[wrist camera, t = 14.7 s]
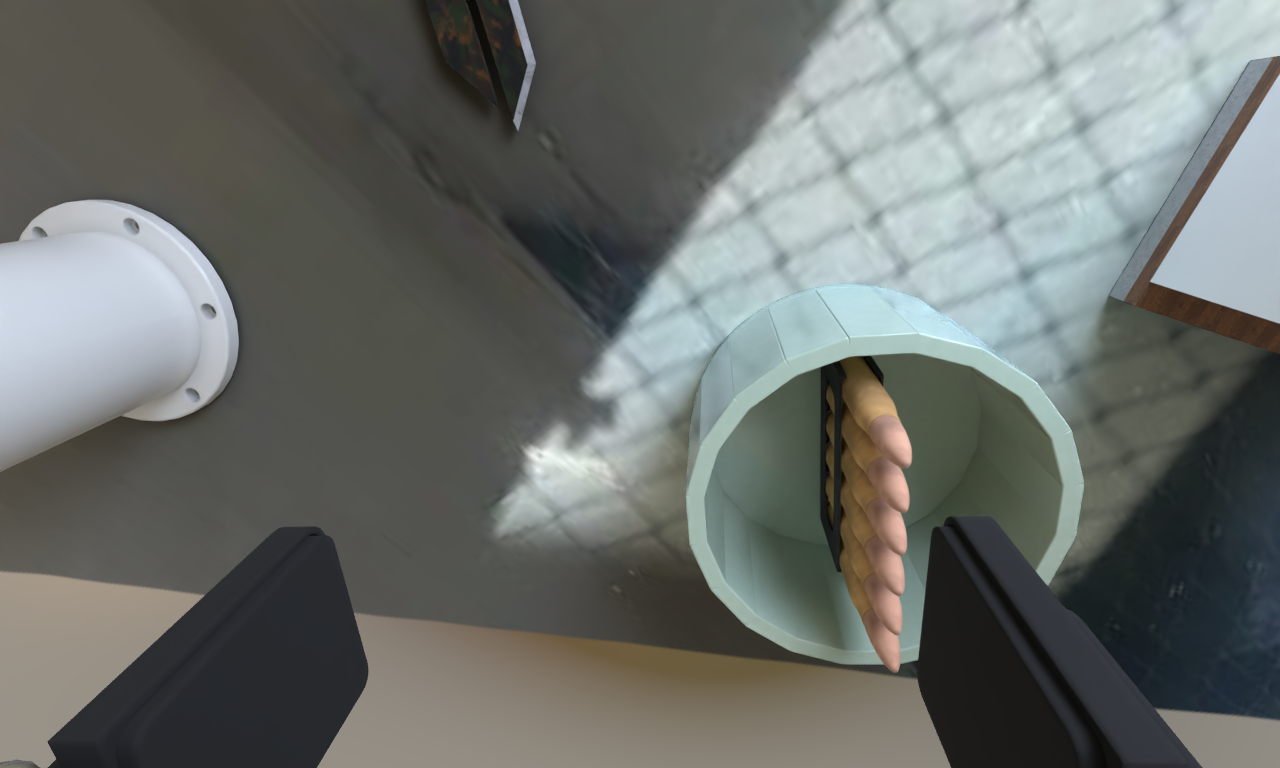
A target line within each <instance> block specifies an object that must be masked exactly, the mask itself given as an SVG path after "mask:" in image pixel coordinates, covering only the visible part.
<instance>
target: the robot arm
mask: <svg viewBox="0 0 1280 768" xmlns="http://www.w3.org/2000/svg"><path fill="white" fill-rule="evenodd" d="M238 347H239V338H238V327H237V320H236V317H235V313H234V309H233V306H232V302H231V300H230V298H229V295H228V293H227V291H226V289H225V287H224V285H223V282H222V280H221V279H220V277H219V276H218V274H217V273H216V271H215V270H214V268H213V267H212V265H211V264H210V262H209V260H208V259H207V258H206V257H205V256H204V255H203V254H202V253H201V251H200V250H199V249H198V248H197V247H196V246H195V245H194V244H193V242H192V241H190V240H189V239H188V238H187V237H186V236H184V235H183V234H182V233H181V232H180V231H178V230H177V229H176V228H175V227H174V226H172V225H171V224H169V223H167V222H166V221H164V220H163V219H161V218H159V217H158V216H156V215H154V214H153V213H150V212H148V211H146V210H143V209H141V208H138V207H136V206H133V205H131V204H126V203H121V202H117V201H112V200H83V201H75V202H67V203H63V204H60V205H58V206H55V207H52V208H49V209H47V210H46V211H44V212H43V213H41V214H40V215H39V216H37V217H36V218H34V219H33V220H32V221H31V223H30V224H29V225H28V226H27V228H26V229H25V230H24V231H23V233H22V234H21V236H20V239H19V241H16V242H9V243H2V244H0V472H1V471H3V470H6V469H8V468H10V467H12V466H14V465H16V464H18V463H21V462H23V461H25V460H27V459H29V458H31V457H33V456H35V455H38V454H40V453H42V452H44V451H46V450H48V449H50V448H53V447H55V446H57V445H59V444H61V443H63V442H65V441H68V440H70V439H72V438H74V437H76V436H78V435H80V434H82V433H85V432H87V431H89V430H91V429H93V428H95V427H97V426H100V425H102V424H104V423H106V422H108V421H110V420H112V419H115V418H117V417H119V416H124V417H128V418H133V419H137V420H142V421H166V420H172V419H178V418H181V417H183V416H186V415H188V414H191V413H193V412H195V411H197V410H199V409H200V408H202V407H204V406H206V405H208V404H209V403H211V402H212V401H213V400H214V399H215V398H216V397H217V396H218V395H219V394H221V393H222V392H223V390H224V388H225V387H226V385H227V384H228V382H229V381H230V379H231V377H232V374H233V371H234V369H235V366H236V363H237V356H238ZM917 675H918V683H919V688H920V692H921V695H922V697H923V700H924V702H925V705H926V707H927V710H928V712H929V714H930V717H931V719H932V722H933V724H934V727H935V729H936V732H937V734H938V736H939V739H940V741H941V744H942V746H943V748H944V751H945V753H946V756H947V758H948V761H949V763H950V766H951V768H1202V767H1201V766H1200V765H1199V763H1198V762H1197V761H1196V759H1195V758H1194V757H1193V756H1192V754H1191V753H1190V752H1189V751H1188V750H1187V748H1186V747H1185V746H1184V745H1183V744H1182V742H1181V741H1180V740H1179V738H1178V737H1177V736H1176V735H1175V734H1174V732H1173V731H1172V730H1171V729H1170V727H1169V726H1168V725H1167V724H1166V722H1165V721H1164V720H1163V719H1162V718H1161V717H1160V715H1159V714H1158V713H1157V711H1156V710H1155V709H1154V708H1153V706H1152V705H1151V704H1150V703H1149V701H1148V700H1147V699H1146V698H1145V697H1144V695H1143V694H1142V693H1141V692H1140V690H1139V689H1138V688H1137V687H1136V685H1135V684H1134V683H1133V682H1132V681H1131V679H1130V678H1129V677H1128V676H1127V674H1126V673H1125V672H1124V671H1123V669H1122V668H1121V667H1120V666H1119V665H1118V663H1117V662H1116V661H1115V660H1114V658H1113V657H1112V656H1111V655H1110V653H1109V652H1108V651H1107V650H1106V649H1105V647H1104V646H1103V645H1102V644H1101V642H1100V641H1099V640H1098V639H1097V637H1096V636H1095V635H1094V634H1093V633H1092V631H1091V630H1090V629H1089V628H1088V626H1087V625H1086V624H1085V623H1084V621H1083V620H1082V619H1081V618H1080V617H1079V616H1077V615H1076V614H1075V613H1074V612H1072V611H1070V610H1068V609H1065V607H1064V606H1063V605H1062V604H1061V602H1060V601H1059V600H1058V599H1057V597H1056V596H1055V595H1054V594H1053V592H1052V591H1051V590H1050V589H1049V587H1048V586H1047V585H1046V584H1045V582H1044V581H1043V580H1042V579H1041V577H1040V576H1039V575H1038V573H1037V572H1036V571H1035V570H1034V568H1033V567H1032V566H1031V565H1030V563H1029V562H1028V561H1027V560H1026V558H1025V557H1024V556H1023V555H1022V553H1021V552H1020V551H1019V550H1018V548H1017V547H1016V546H1015V545H1014V543H1013V542H1012V541H1011V540H1010V538H1009V537H1008V536H1007V535H1006V533H1005V532H1004V531H1003V530H1002V528H1001V527H1000V526H999V524H998V523H997V522H996V521H995V520H994V519H993V518H992V517H990V516H949V517H948V518H946V520H945V522H944V526H940V527H934V528H933V530H932V534H931V542H930V551H929V561H928V570H927V580H926V589H925V599H924V608H923V618H922V628H921V637H920V647H919V656H918V666H917ZM367 678H368V663H367V659H366V656H365V653H364V649H363V645H362V642H361V638H360V634H359V631H358V627H357V624H356V620H355V616H354V613H353V609H352V605H351V602H350V598H349V595H348V591H347V587H346V584H345V580H344V576H343V573H342V569H341V566H340V562H339V558H338V555H337V551H336V548H335V544H334V542H333V540H332V538H331V537H329V536H327V535H325V534H324V532H323V531H322V530H321V529H320V528H318V527H282V528H279V529H277V530H276V531H274V532H273V533H272V534H271V535H270V536H269V537H268V538H266V539H265V540H264V541H263V542H262V543H261V544H260V545H259V546H258V547H257V548H256V549H255V550H254V551H252V552H251V553H250V554H249V555H248V556H247V557H246V558H245V559H244V560H243V561H242V562H241V563H240V564H238V565H237V566H236V567H235V568H234V569H233V570H232V571H231V572H230V573H229V574H228V575H227V576H226V577H224V578H223V579H222V580H221V581H220V582H219V583H218V584H217V585H216V586H215V587H214V588H213V589H212V590H210V591H209V592H208V593H207V594H206V595H205V596H204V597H203V598H202V599H201V600H200V601H199V602H198V603H196V604H195V605H194V606H193V607H192V608H191V609H190V610H189V611H188V612H187V613H186V614H185V615H184V616H182V617H181V618H180V619H179V620H178V621H177V622H176V623H175V624H174V625H173V626H172V627H171V628H170V629H168V630H167V631H166V632H165V633H164V634H163V635H162V636H161V637H160V638H159V639H158V640H157V641H156V642H154V643H153V644H152V645H151V646H150V647H149V648H148V649H147V650H146V651H145V652H144V653H143V654H141V655H140V657H138V658H137V659H136V660H135V661H134V662H133V663H132V664H131V665H130V666H129V667H127V668H126V670H124V671H123V672H122V673H121V674H120V675H119V676H118V677H117V678H116V679H115V680H113V681H112V682H111V683H110V684H109V685H108V686H107V687H106V688H105V689H104V690H103V691H102V692H101V693H99V694H98V695H97V696H96V697H95V698H94V699H93V700H92V701H91V702H90V703H89V704H88V705H87V706H85V707H84V708H83V709H82V710H81V711H80V712H79V713H78V714H77V715H76V716H75V717H74V718H73V719H71V721H69V722H68V723H67V724H66V725H65V726H64V727H63V728H62V729H61V730H60V731H59V732H57V733H56V734H55V735H54V736H53V737H52V738H51V739H50V740H49V741H48V744H49V746H50V748H51V749H52V751H53V753H54V755H55V757H56V760H55V761H54V762H53V763H52V764H51V765H50V766H49V767H48V768H317V766H318V765H319V763H320V761H321V760H322V758H323V756H324V754H325V753H326V751H327V749H328V748H329V746H330V745H331V743H332V741H333V740H334V738H335V736H336V735H337V733H338V732H339V730H340V728H341V727H342V725H343V723H344V722H345V720H346V718H347V717H348V715H349V713H350V711H351V710H352V708H353V706H354V705H355V703H356V702H357V700H358V698H359V697H360V695H361V693H362V691H363V690H364V688H365V685H366V682H367ZM0 768H39V767H38V766H37V765H36V764H34V763H33V762H31V761H22V760H13V761H7V762H1V763H0Z"/></svg>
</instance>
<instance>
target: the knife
mask: <svg viewBox="0 0 1280 768" xmlns="http://www.w3.org/2000/svg"><path fill="white" fill-rule="evenodd" d="M468 1H471V0H425V2H426V5H427V8H428V11H429V14H430V17H431V20H432V23H433V26H434V29H435V32H436V35H437V38H438V41H439V44H440V47H441V50H442V53H443V56H444V59H445V61H446V62H447V63H448V64H449V65H450V66H452V67H453V68H454V69H455V70H456V71H457V72H458V73H459V74H461V75H462V76H463V77H464V78H465V79H466V80H467V81H468V82H470V83H471V84H472V85H473V86H474V87H475V88H476V89H478V90H479V91H480V92H481V93H482V94H483V95H484V96H485V97H487V98H488V99H489V100H490V101H491V102H492V103H493V104H494V105H496V106H497V107H498V104H497V97H496V94H495V91H494V87H493V84H492V81H491V78H490V75H489V71H488V68H487V65H486V62H485V58H484V55H483V52H482V49H481V46H480V42H479V39H478V36H477V33H476V29H475V26H474V23H473V20H472V17H471V13H470V10H469V7H468V4H467V2H468ZM476 2H477V5H478V8H479V11H480V15H481V18H482V21H483V24H484V28H485V31H486V34H487V37H488V41H489V44H490V47H491V50H492V54H493V57H494V60H495V64H496V67H497V70H498V73H499V77H500V80H501V83H502V86H503V90H504V93H505V96H506V99H507V103H508V106H509V109H510V112H511V116H512V119H513V122H514V124H515V126H516V128H517V131H518V130H519V126H520V123H521V119H522V115H523V111H524V107H525V104H526V100H527V96H528V92H529V88H530V84H531V81H532V77H533V73H534V69H535V65H536V62H535V59H534V55H533V52H532V48H531V45H530V41H529V38H528V34H527V31H526V27H525V24H524V21H523V17H522V14H521V10H520V7H519V3H518V0H476Z"/></svg>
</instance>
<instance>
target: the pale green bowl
mask: <svg viewBox="0 0 1280 768" xmlns="http://www.w3.org/2000/svg"><path fill="white" fill-rule="evenodd" d="M853 356H872V358H873V359H874V361H875V362H876V364H877V365H878V367H879V368H880V370H881V371H882V373H883V375H884V382H883V387H884V389H885V390H886V392H887V393H888V395H889V396H890V398H891V399H892V401H893V402H894V405H895V407H896V410H897V416H898V417H899V419H900V421H901V424H902V426H903V428H904V429H905V431H906V433H907V436H908V438H909V441H910V444H911V448H912V462H911V465H910V466H909V467H908V468H902V467H900V468H901V470H902V472H903V474H904V477H905V480H906V483H907V486H908V489H909V498H910V504H909V508H908V511H907V512H906V513H901V512H900V513H901V516H902V518H903V521H904V524H905V528H906V533H907V549H906V552H905V554H904V555H903V556H900V557H901V560H902V564H903V568H904V575H905V587H904V592H903V594H902V595H901V596H899V598H900V602H901V607H902V619H903V624H902V630H901V633H900V635H898V639H899V644H900V664H903V663H907V662H911V661H915V660H918V656H919V647H920V637H921V628H922V618H923V608H924V599H925V589H926V580H927V570H928V561H929V551H930V542H931V534H932V530H933V528H934V527H940V526H944V522H945V520H946V518H948V517H949V516H990V517H992V518H993V519H994V520H995V521H996V522H997V523H998V524H999V526H1000V527H1001V528H1002V530H1003V531H1004V532H1005V533H1006V535H1007V536H1008V537H1009V538H1010V540H1011V541H1012V542H1013V543H1014V545H1015V546H1016V547H1017V548H1018V550H1019V551H1020V552H1021V553H1022V555H1023V556H1024V557H1025V558H1026V560H1027V561H1028V562H1029V563H1030V565H1031V566H1032V567H1033V568H1034V570H1035V571H1036V572H1037V573H1038V575H1039V576H1040V577H1041V579H1042V580H1043V581H1044V582H1045V584H1046V585H1049V584H1050V582H1051V580H1052V579H1053V577H1054V575H1055V573H1056V572H1057V570H1058V568H1059V566H1060V565H1061V563H1062V561H1063V559H1064V558H1065V556H1066V554H1067V552H1068V551H1069V549H1070V547H1071V545H1072V544H1073V542H1074V540H1075V537H1076V534H1077V528H1078V522H1079V516H1080V510H1081V504H1082V498H1083V492H1084V486H1085V485H1084V479H1083V475H1082V471H1081V467H1080V462H1079V458H1078V454H1077V450H1076V446H1075V441H1074V437H1073V433H1072V431H1071V429H1070V426H1069V425H1068V424H1067V422H1066V421H1065V420H1064V418H1063V417H1062V415H1061V414H1060V413H1059V411H1058V410H1057V409H1056V407H1055V406H1054V405H1053V403H1052V402H1051V401H1050V399H1049V398H1048V396H1047V395H1046V394H1045V392H1044V391H1043V390H1042V388H1041V387H1040V386H1039V384H1038V383H1036V381H1035V380H1033V379H1032V378H1031V377H1029V376H1028V375H1027V374H1025V373H1024V372H1023V371H1021V370H1020V369H1019V368H1017V367H1016V366H1015V365H1013V364H1012V363H1010V362H1009V361H1008V360H1006V359H1005V358H1004V357H1002V356H1001V355H1000V354H998V353H997V352H996V351H994V350H993V349H992V348H990V347H989V346H988V345H986V344H985V343H983V342H982V341H981V340H979V339H978V338H977V337H975V336H974V335H973V334H971V333H970V332H969V331H967V330H966V329H965V328H963V327H962V326H961V325H959V324H958V323H956V322H955V321H953V320H952V319H950V318H948V317H947V316H945V315H944V314H942V313H941V312H939V311H938V310H937V309H935V308H933V307H932V306H930V305H928V304H927V303H925V302H923V301H922V300H920V299H918V298H916V297H912V296H910V295H907V294H905V293H902V292H899V291H896V290H892V289H888V288H884V287H879V286H871V285H863V284H837V285H830V286H822V287H816V288H812V289H809V290H805V291H801V292H797V293H795V294H792V295H790V296H787V297H785V298H782V299H780V300H777V301H775V302H774V303H772V304H770V305H768V306H766V307H765V308H763V309H761V310H759V311H758V312H757V313H755V314H754V315H752V316H751V317H750V318H748V319H747V320H745V321H744V322H743V323H742V324H741V325H740V326H739V327H738V328H736V329H735V330H734V331H733V332H732V333H731V334H730V335H729V336H728V337H727V339H726V340H725V341H724V342H723V343H722V345H721V346H720V347H719V348H718V350H717V351H716V353H715V354H714V356H713V357H712V359H711V361H710V362H709V364H708V365H707V368H706V370H705V372H704V374H703V376H702V379H701V381H700V384H699V387H698V390H697V394H696V397H695V403H694V408H693V412H692V415H691V423H690V437H689V451H688V465H687V479H686V493H685V500H686V513H687V525H688V537H689V545H690V548H691V550H692V552H693V554H694V556H695V558H696V560H697V563H698V565H699V567H700V569H701V571H702V573H703V575H704V577H705V580H706V582H707V584H708V586H709V588H710V589H711V591H712V592H713V593H714V594H715V595H716V596H717V597H718V598H719V599H720V600H721V601H722V602H723V603H724V604H725V605H726V606H727V607H728V609H729V610H730V611H731V612H732V613H733V614H734V615H735V616H736V617H737V618H738V619H739V620H740V621H741V622H742V623H743V624H744V625H745V626H746V627H748V628H750V629H751V630H753V631H755V632H757V633H758V634H760V635H762V636H764V637H766V638H767V639H769V640H771V641H773V642H775V643H776V644H778V645H780V646H782V647H784V648H785V649H787V650H789V651H791V652H795V653H799V654H803V655H807V656H811V657H815V658H819V659H823V660H827V661H831V662H835V663H839V664H874V665H885V664H884V663H883V662H882V661H881V659H880V658H879V656H878V655H877V653H876V651H875V650H874V648H873V646H872V644H871V642H870V639H869V637H868V635H867V632H866V629H865V626H864V625H863V622H862V620H861V617H860V615H859V612H858V611H857V609H856V608H855V606H854V604H853V603H852V600H851V598H850V595H849V592H848V589H847V586H846V583H845V580H844V576H843V573H842V572H837V570H836V567H835V564H834V561H833V557H832V554H831V551H830V548H829V545H828V541H827V538H826V535H825V532H824V529H823V526H822V522H821V519H820V424H821V367H822V366H825V365H828V364H831V363H834V362H837V361H839V360H842V359H845V358H848V357H853Z"/></svg>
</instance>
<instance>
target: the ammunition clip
mask: <svg viewBox="0 0 1280 768" xmlns="http://www.w3.org/2000/svg"><path fill="white" fill-rule="evenodd" d="M883 382H884V375H883V373H882V371H881V370H880V368H879V367H878V365H877V364H876V362H875V361H874V359H873V358H872V356H853V357H848V358H845V359H842V360H839V361H837V362H834V363H831V364H828V365H825V366H822V367H821V424H820V519H821V522H822V526H823V529H824V532H825V535H826V538H827V541H828V545H829V548H830V551H831V554H832V557H833V561H834V564H835V567H836V570H837V572H842V573H843V576H844V580H845V583H846V586H847V589H848V592H849V595H850V598H851V600H852V603H853V604H854V606H855V608H856V609H857V611H858V612H859V615H860V617H861V620H862V622H863V625H864V626H865V629H866V632H867V635H868V637H869V639H870V642H871V644H872V646H873V648H874V650H875V651H876V653H877V655H878V656H879V658H880V659H881V661H882V662H883V663H884V664H885V666H886V667H887V668H888V669H890V670H891V671H892V672H894V673H896V672H898V670H899V667H900V644H899V639H898V635H900V633H901V630H902V624H903V619H902V607H901V602H900V598H899V596H901V595H902V594H903V592H904V587H905V575H904V568H903V564H902V560H901V557H900V556H903V555H904V554H905V552H906V549H907V533H906V528H905V524H904V521H903V518H902V516H901V513H906V512H907V511H908V508H909V504H910V498H909V489H908V486H907V483H906V480H905V477H904V474H903V472H902V470H901V468H900V467H902V468H908V467H909V466H910V465H911V462H912V448H911V444H910V441H909V438H908V436H907V433H906V431H905V429H904V428H903V426H902V424H901V421H900V419H899V417H898V416H897V410H896V407H895V405H894V402H893V401H892V399H891V398H890V396H889V395H888V393H887V392H886V390H885V389H884V387H883ZM900 512H901V513H900Z"/></svg>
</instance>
